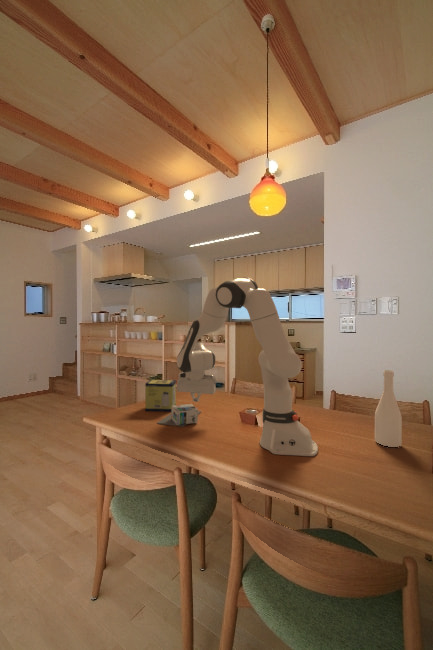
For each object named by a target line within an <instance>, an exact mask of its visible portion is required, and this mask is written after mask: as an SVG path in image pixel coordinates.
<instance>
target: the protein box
mask: <svg viewBox="0 0 433 650" xmlns="http://www.w3.org/2000/svg"><path fill="white" fill-rule="evenodd" d="M144 389H145V398H144V399H145V401H144V403H145V406H144V407H145V412H170V413H171V410H172V406H175V405H177V404H176V403H177V398H176V395H177V392H176V391H177V381H176V380H175V379H170V380H169V379H150V380H148V381H146V382H145V387H144Z"/></svg>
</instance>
